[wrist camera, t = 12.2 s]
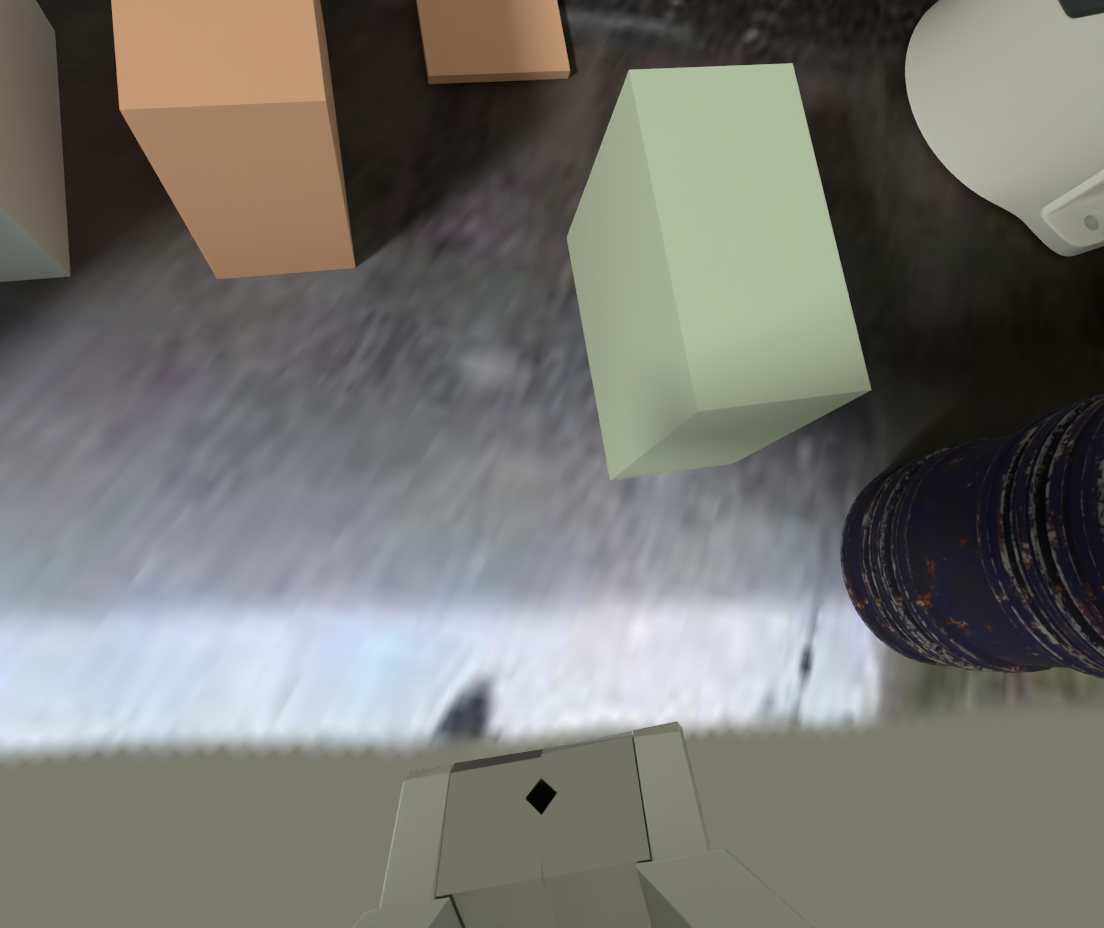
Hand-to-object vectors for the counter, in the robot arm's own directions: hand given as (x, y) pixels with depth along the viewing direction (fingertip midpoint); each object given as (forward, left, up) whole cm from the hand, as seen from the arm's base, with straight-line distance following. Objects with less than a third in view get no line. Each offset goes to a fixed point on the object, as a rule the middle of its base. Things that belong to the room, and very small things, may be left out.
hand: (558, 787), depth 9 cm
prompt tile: (-6, -31, -26) cm, 41 cm away
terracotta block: (+5, -24, -26) cm, 36 cm away
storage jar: (-23, -1, -26) cm, 35 cm away
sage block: (-11, -13, -26) cm, 31 cm away
